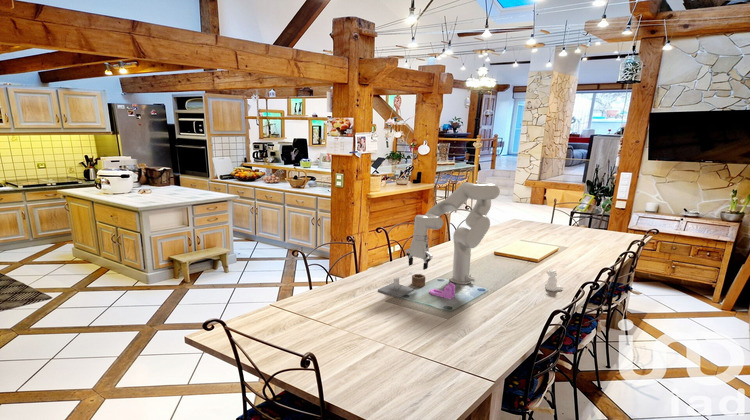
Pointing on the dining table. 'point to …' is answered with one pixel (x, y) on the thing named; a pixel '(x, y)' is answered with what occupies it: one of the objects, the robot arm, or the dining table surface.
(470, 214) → the robot arm
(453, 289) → the bracket
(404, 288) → the post
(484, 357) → the dining table surface
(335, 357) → the dining table surface
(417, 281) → the collar
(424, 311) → the dining table surface
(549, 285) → the seated beast figurine
